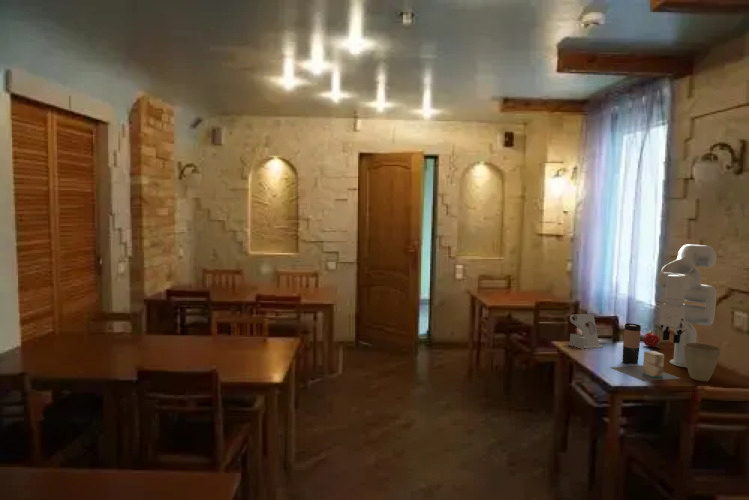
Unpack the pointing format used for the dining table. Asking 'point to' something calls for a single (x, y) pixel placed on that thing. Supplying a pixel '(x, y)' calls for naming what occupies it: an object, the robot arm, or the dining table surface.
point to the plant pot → (701, 360)
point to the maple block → (653, 364)
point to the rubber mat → (641, 373)
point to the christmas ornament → (651, 339)
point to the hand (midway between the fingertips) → (671, 341)
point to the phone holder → (584, 332)
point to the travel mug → (631, 343)
